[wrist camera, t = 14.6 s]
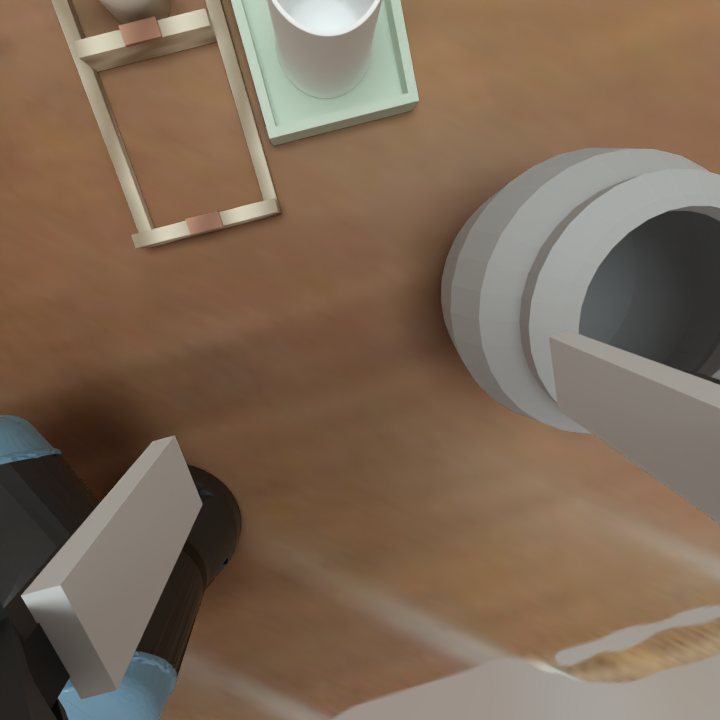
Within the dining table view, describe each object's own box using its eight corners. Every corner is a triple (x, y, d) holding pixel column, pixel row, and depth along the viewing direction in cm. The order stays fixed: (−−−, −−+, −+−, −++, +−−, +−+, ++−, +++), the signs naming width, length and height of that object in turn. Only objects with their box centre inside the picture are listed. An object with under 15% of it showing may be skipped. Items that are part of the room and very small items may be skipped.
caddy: (149, 248, 42) (134, 249, 39) (36, -52, 36) (7, -82, 32) (281, 214, 43) (278, 212, 39) (195, -91, 36) (182, -125, 33)
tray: (273, 145, 41) (269, 138, 38) (214, -65, 36) (205, -92, 34) (412, 110, 41) (418, 100, 38) (371, -104, 37) (375, -133, 34)
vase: (611, 313, 48) (883, 381, 25) (455, 396, 49) (575, 536, 26) (547, 142, 43) (817, 23, 20) (375, 240, 44) (434, 238, 21)
